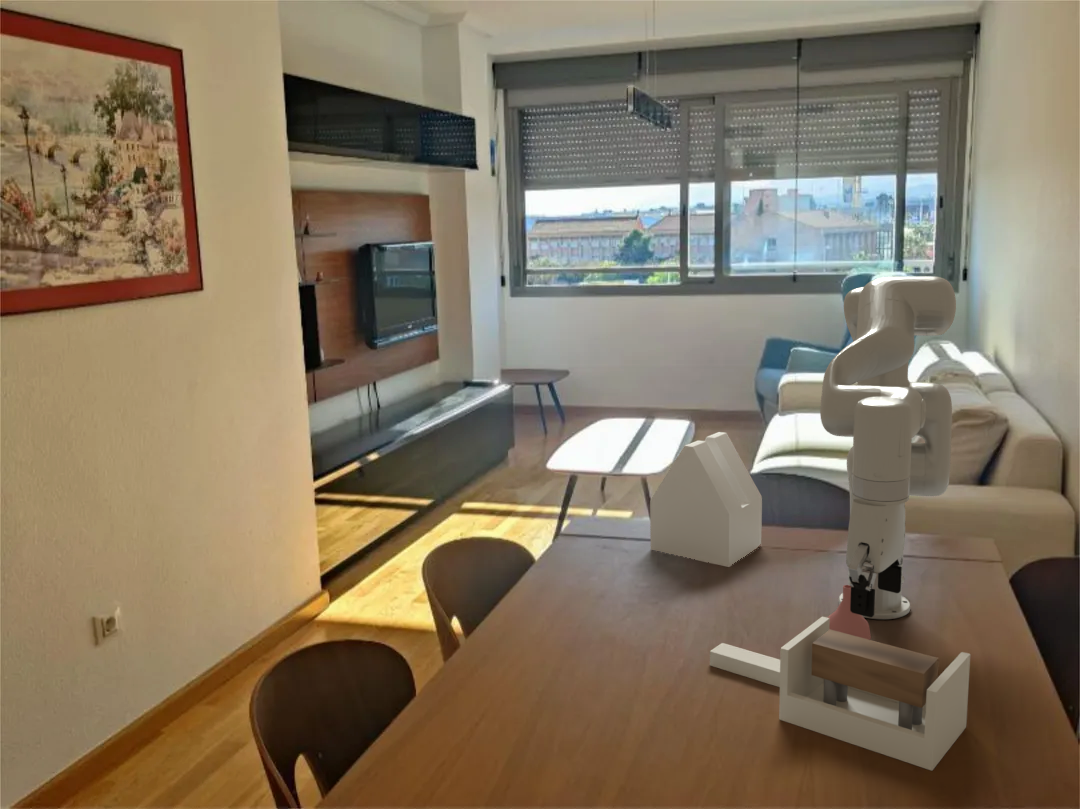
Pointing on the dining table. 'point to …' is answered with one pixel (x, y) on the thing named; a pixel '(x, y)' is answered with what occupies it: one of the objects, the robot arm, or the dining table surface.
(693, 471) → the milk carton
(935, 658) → the brown wooden block
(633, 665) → the dining table surface
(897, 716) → the stand
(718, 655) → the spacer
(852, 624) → the pink vase
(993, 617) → the dining table surface
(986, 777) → the dining table surface
